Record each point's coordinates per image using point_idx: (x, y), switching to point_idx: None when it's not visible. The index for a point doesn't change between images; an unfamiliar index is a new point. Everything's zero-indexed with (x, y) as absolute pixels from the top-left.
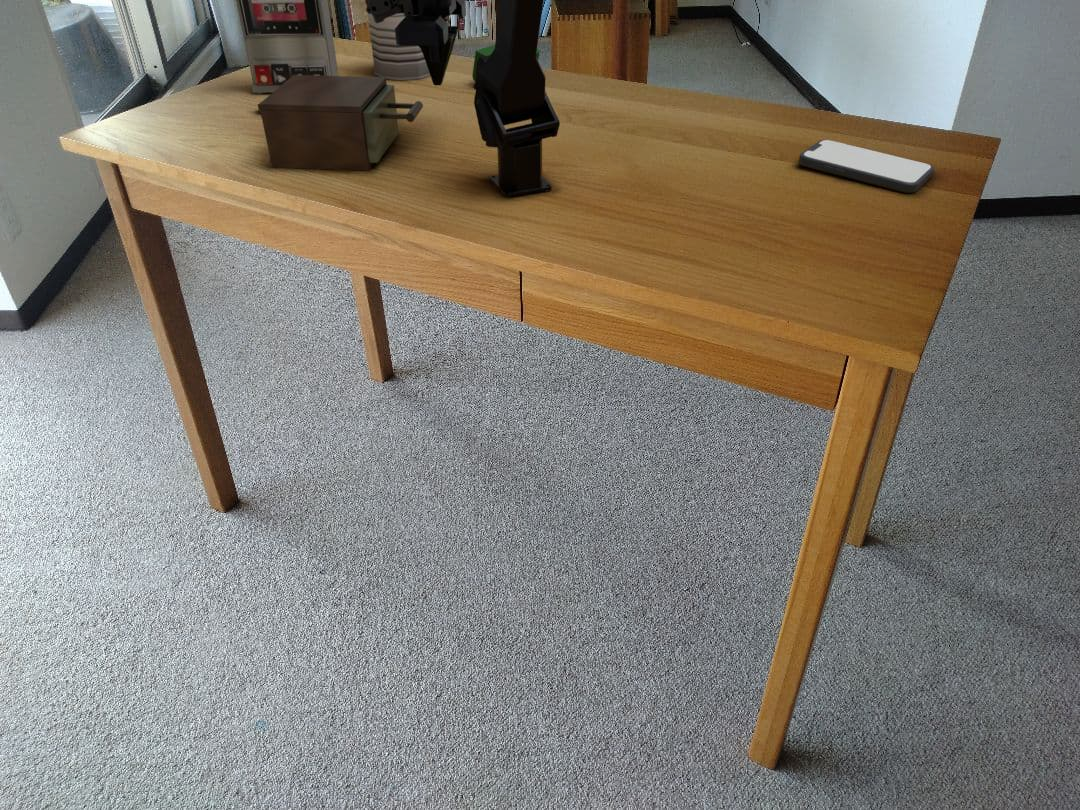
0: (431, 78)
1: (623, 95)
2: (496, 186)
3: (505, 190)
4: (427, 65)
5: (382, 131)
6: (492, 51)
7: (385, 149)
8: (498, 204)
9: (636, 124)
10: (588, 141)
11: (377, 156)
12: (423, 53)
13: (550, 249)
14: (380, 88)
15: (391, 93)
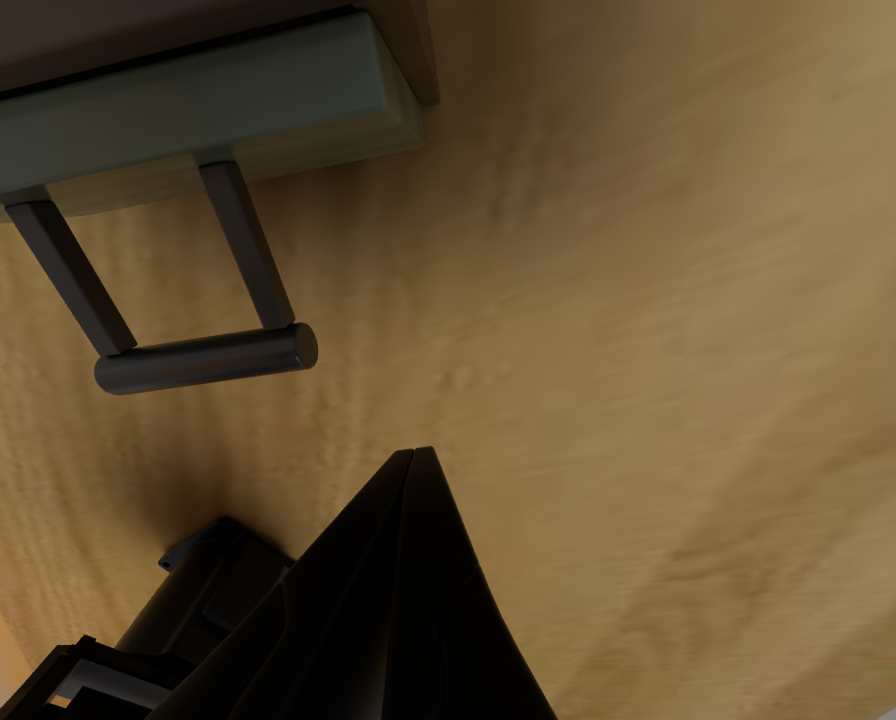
0: (375, 474)
1: (886, 640)
2: (190, 537)
3: (170, 560)
4: (300, 560)
5: (115, 198)
6: None
7: (196, 192)
8: (131, 548)
9: (650, 668)
10: (529, 619)
11: (74, 215)
12: (163, 708)
13: (45, 628)
14: (164, 47)
15: (293, 138)
